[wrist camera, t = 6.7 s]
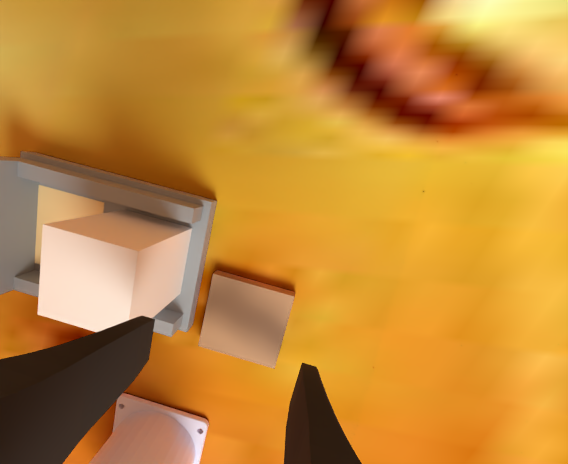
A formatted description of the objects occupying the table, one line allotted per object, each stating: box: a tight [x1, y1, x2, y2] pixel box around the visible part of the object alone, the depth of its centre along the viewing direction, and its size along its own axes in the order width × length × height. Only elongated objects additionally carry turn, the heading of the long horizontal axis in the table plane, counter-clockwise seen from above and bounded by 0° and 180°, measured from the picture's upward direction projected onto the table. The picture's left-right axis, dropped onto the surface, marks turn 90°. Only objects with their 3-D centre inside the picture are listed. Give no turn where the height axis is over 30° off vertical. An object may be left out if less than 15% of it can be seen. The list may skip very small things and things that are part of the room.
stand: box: [198, 270, 295, 369], centre depth 21 cm, size 6×6×1 cm
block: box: [38, 210, 192, 332], centre depth 17 cm, size 5×5×6 cm
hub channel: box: [0, 151, 217, 337], centre depth 19 cm, size 10×14×4 cm
